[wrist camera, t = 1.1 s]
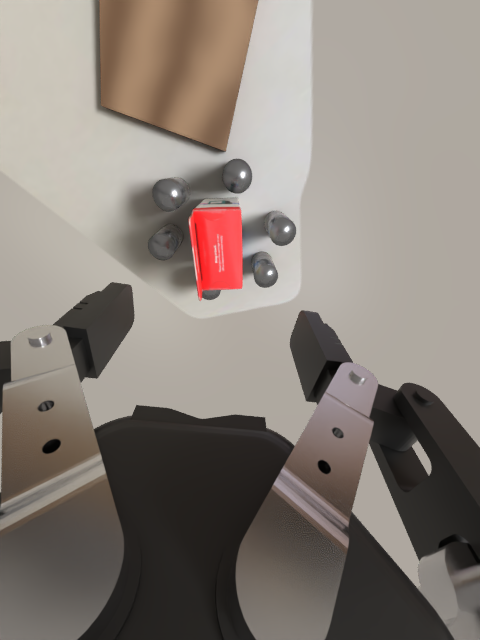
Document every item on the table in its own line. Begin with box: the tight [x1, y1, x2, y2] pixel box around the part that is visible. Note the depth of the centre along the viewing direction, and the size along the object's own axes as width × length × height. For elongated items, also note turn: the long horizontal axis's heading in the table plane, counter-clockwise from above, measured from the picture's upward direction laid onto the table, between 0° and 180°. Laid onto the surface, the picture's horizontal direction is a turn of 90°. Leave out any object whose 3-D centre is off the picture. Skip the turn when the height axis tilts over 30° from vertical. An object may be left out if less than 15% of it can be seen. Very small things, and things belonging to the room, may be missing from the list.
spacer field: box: [148, 159, 296, 300], centre depth 31 cm, size 17×17×6 cm
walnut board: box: [99, 0, 258, 152], centre depth 24 cm, size 14×14×1 cm
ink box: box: [188, 197, 242, 301], centre depth 28 cm, size 8×5×15 cm, turn 2°
